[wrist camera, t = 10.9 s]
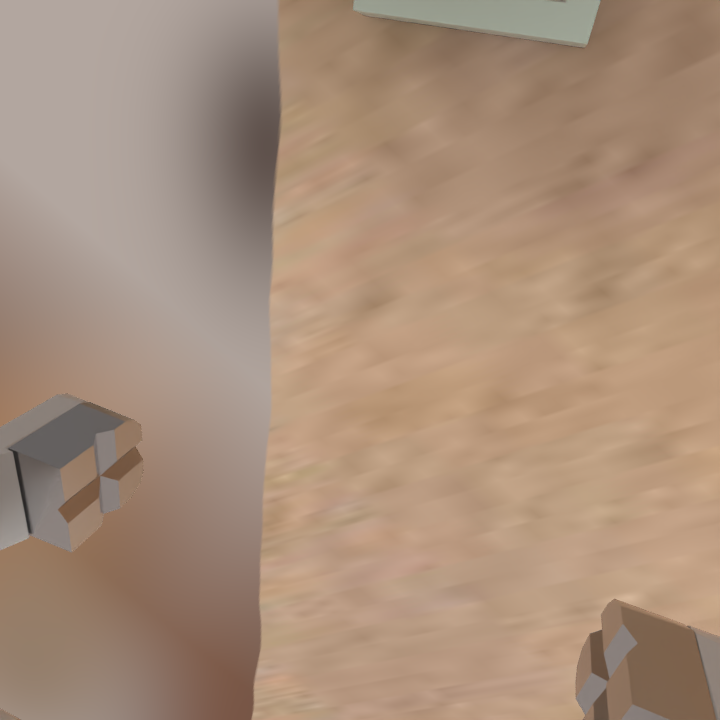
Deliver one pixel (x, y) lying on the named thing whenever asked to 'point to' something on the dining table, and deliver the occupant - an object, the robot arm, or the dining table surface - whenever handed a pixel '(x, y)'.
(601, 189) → the dining table surface
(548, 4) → the tray
